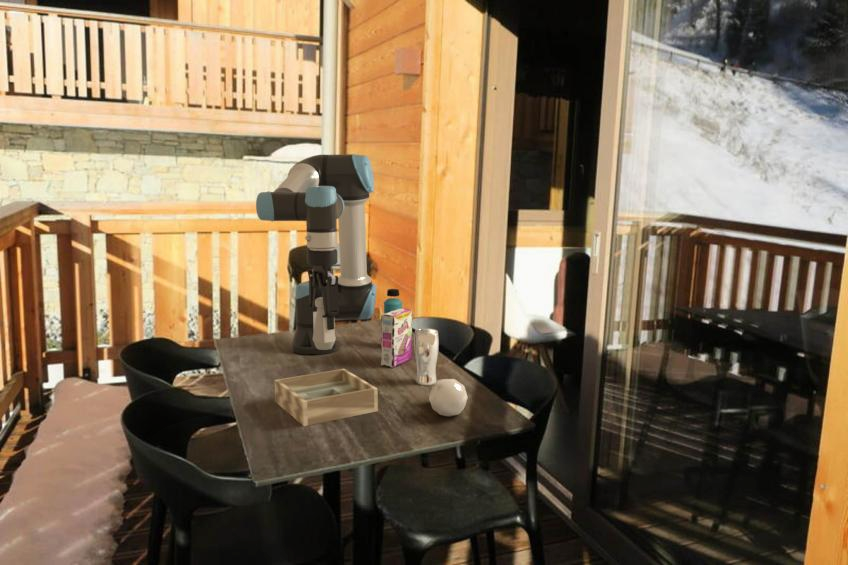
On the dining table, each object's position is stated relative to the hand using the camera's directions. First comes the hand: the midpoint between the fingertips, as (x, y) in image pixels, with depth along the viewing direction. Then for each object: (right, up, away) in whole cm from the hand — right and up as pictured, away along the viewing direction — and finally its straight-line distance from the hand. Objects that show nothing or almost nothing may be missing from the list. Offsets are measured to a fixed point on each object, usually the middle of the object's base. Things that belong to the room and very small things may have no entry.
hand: (324, 338), depth 181 cm
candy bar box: (+17, -11, +42) cm, 47 cm away
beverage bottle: (+15, -8, +61) cm, 63 cm away
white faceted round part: (+31, -19, 0) cm, 36 cm away
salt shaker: (0, -3, 0) cm, 3 cm away
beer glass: (+26, -14, +24) cm, 38 cm away
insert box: (0, -18, +3) cm, 18 cm away
